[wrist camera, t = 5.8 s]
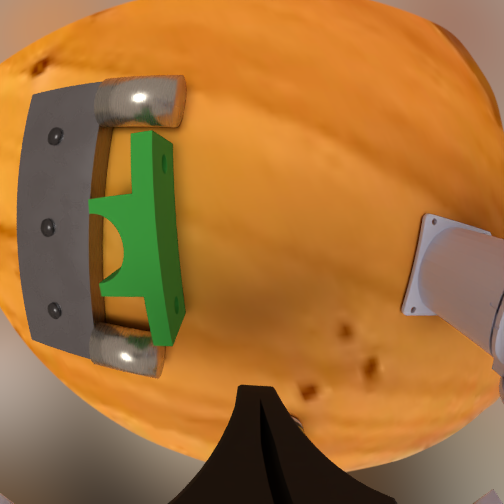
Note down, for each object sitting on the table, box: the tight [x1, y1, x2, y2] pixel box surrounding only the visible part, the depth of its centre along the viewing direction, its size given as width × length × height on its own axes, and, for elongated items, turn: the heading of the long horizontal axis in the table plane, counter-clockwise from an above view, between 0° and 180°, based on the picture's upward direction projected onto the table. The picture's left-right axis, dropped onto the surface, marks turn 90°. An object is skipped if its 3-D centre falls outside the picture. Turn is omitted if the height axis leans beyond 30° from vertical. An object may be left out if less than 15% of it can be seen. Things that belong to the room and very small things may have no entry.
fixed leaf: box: [17, 75, 186, 378], centre depth 15 cm, size 12×19×3 cm, turn 173°
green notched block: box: [88, 130, 186, 346], centre depth 15 cm, size 11×4×5 cm, turn 2°
